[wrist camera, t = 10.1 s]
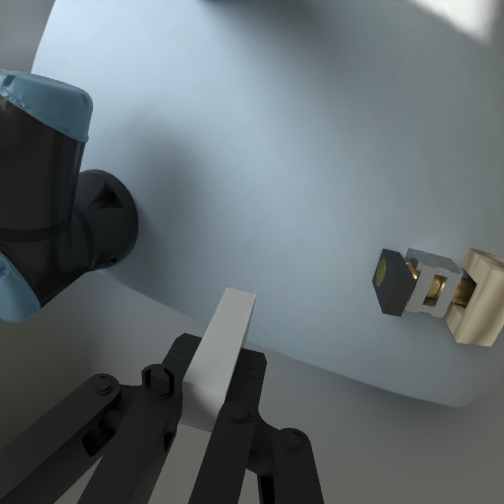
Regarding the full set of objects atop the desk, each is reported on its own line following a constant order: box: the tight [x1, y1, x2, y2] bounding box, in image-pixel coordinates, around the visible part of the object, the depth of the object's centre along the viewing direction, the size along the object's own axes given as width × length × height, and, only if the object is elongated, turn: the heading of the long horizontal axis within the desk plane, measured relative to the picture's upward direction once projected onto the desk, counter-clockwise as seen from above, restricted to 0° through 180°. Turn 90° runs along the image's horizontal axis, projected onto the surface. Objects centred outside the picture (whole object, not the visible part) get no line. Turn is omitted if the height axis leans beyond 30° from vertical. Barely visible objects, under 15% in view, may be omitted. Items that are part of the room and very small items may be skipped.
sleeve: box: [404, 248, 463, 318], centre depth 36 cm, size 7×6×5 cm
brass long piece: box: [372, 249, 477, 317], centre depth 34 cm, size 18×5×8 cm, turn 81°
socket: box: [443, 248, 504, 347], centre depth 34 cm, size 7×11×7 cm, turn 171°
